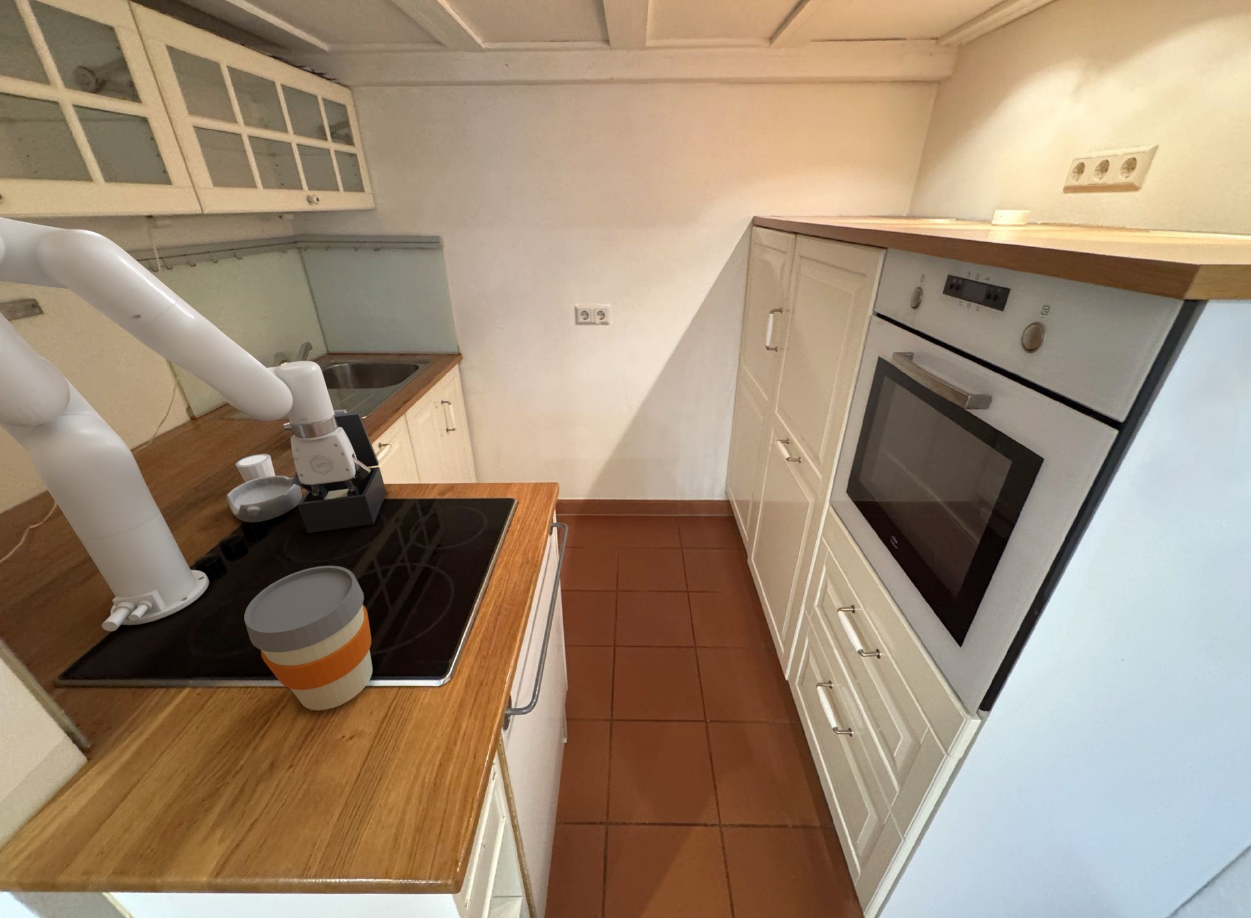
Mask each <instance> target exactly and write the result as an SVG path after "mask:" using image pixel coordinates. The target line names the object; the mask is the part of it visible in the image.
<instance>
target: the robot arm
mask: <svg viewBox="0 0 1251 918" xmlns="http://www.w3.org/2000/svg"><path fill="white" fill-rule="evenodd" d="M0 281H1V282H6V283H7V282H8V283H13V284H14V283H15V284H22V285H30V286H39V287H47V288H54V289H55V288H57V289H63V290H64V289H65V290H69V291H71V292H72V293H74V294H75V295H76V296H77V297H79V298H80V299H81V300H83V301H85V302H86V303H87V304H89V305H90V306H91V307H93V308H94V309H95V310H96V311H98V312H99V313H101V314H102V315H104V316H105V317H106V318H107V319H109V320H110V321H112V322H113V323H114V324H116V325H117V326H118V327H120V328H122V329H123V330H124V331H125V332H127V333H128V334H130V335H131V336H132V337H133V338H135V339H136V340H138V341H139V343H142V344H143V345H144V346H145V347H147V348H148V349H150V350H151V351H153V352H154V353H156V354H158V355H159V356H160V357H162V358H163V359H165V360H166V361H168V362H171V363H173V364H174V365H176V366H178V367H179V368H181V369H183V370H185V371H186V372H188V373H190V374H192V375H193V376H195V378H198V379H199V380H201V381H202V382H204V383H205V384H206V385H207V386H209V387H211V388H212V389H213V390H215V391H216V392H218V393H219V394H220V395H222V397H223V399H224V400H225V401H226V402H227V403H228V404H229V405H230V406H231V407H233V408H234V409H236V410H238V411H240V412H242V413H243V414H245V415H247V416H249V417H250V418H252V419H255V420H257V421H261V422H275V421H277V420H281V419H282V418H284V417H285V416H287V417H288V420H289V421H288V422H287V423H283V429H284V431H290V432H292V436H291V437H290V446H291V454H292V459H293V463H294V468H295V473H294V474H293V477H292V478H293V479H292V480H291V482H292V483H293V484H295V485H298V486H300V487H303V488H304V489H303V490H306V491H307V490H308V491H310V492H312V495H314V496H316V498H317V500H324V499H325V497H326V496H327V494H328V492H327V490H326V489H325V488H323V484H324V483H332V482H340V481H344V483H345V484H346V486H347V487H348V492H347V495H348V496H356V495H359V491H358V488H357V486H358V485H359V484H360V482H361V481H362V480H363V479H364V478H365V477H366V476H367V475H369V473H370V471H371V470H370V469H369V468H370V467H366V466H365V465H364V464H362V463H361V462H360V461H358V460H357V458H356V455H355V453H354V450H353V447H352V445H351V443H350V441H349V439H348V437H347V435H346V433H345V432H344V430H343V428H342V427H338V423H337V420H336V417H335V414H334V407H333V404H332V401H331V397H330V394H329V391H328V387H327V385H326V380H325V377H324V374H323V370H322V368H321V366H320V364H318V363H317V362H315V361H312V360H297V361H291V362H287V363H283V364H281V365H278V366H272V367H271V366H270V367H267V366H265V365H264V364H263V363H261V362H260V361H259V360H258V359H257V358H255V357H254V356H253V355H252V354H251V353H249V352H248V351H246V350H245V348H243V347H241V346H240V345H239V344H238V343H236V341H234V340H232V339H231V338H230V337H229V336H228V335H226V334H225V333H224V332H222V330H221V329H219V328H218V327H217V326H216V325H215V324H213V323H212V322H211V321H210V320H209V319H207V318H206V317H205V316H203V315H202V314H201V313H200V312H199V311H197V310H196V309H195V308H194V307H193V306H191V305H190V304H189V303H187V301H185V300H184V299H183V298H182V297H180V296H179V294H177V293H175V292H174V291H173V290H172V289H171V288H170V287H168V286H167V284H165V283H164V282H162V281H161V280H160V279H159V278H158V277H156V276H155V274H153V273H152V272H151V271H150V270H148V269H147V268H146V267H145V266H143V265H142V263H140V262H139V261H137V259H135V258H134V257H133V256H132V255H130V254H129V253H128V252H127V251H126V250H124V249H123V248H122V247H121V246H119V244H116V243H115V242H114V241H113V240H111V239H109V238H108V237H106V236H104V235H103V234H100V233H97V232H95V231H91V230H87V229H79V228H62V227H54V226H48V225H42V224H37V223H32V222H27V221H22V220H20V221H19V220H16V219H11V218H6V217H1V216H0ZM0 427H1V428H2V429H3V430H4V431H5V432H6V433H7V434H9V435H10V437H12V439H14V440H15V441H16V442H17V443H18V444H19V445H20V446H22V448H24V450H25V451H26V452H27V453H28V454H29V456H30V459H31V462H32V464H33V467H34V470H35V471H36V473H37V476H38V477H39V479H40V481H41V483H42V484H43V486H44V487H45V489H46V490H47V491H48V492H49V494H50V496H51V497H52V499H53V500H54V502H55V503H56V505H57V506H58V508H59V509H60V510H61V512H62V514H63V516H64V517H65V518H66V520H67V522H68V523H69V525H70V527H71V528H72V531H74V533H75V534H76V536H77V537H78V539H79V540H80V542H81V544H82V545H83V547H84V549H85V551H86V552H87V553H88V555H89V556H90V558H91V559H92V562H93V563H94V564H95V566H96V568H97V569H98V571H99V573H100V574H101V576H102V577H103V579H104V580H105V582H106V584H107V585H108V587H109V589H110V591H111V592H112V594H113V595H114V598H113V599H112V600H111V602H112V603H113V605H112V606H111V609H110V615H109V616H108V617H107V618H106V619H105V620H104V621H103V622H102V624H101V627H102V629H103V630H104V631H105V632H115V631H117V630H118V629H119V628H120V626H121V625H122V626H137V625H143V624H147V623H150V622H151V623H152V622H155V621H158V620H161V619H163V618H166V617H168V616H171V615H173V614H175V613H177V612H179V611H181V610H183V609H185V608H186V607H188V606H189V605H191V604H192V603H194V602H195V601H197V600H198V599H199V598H200V597H201V596H202V595H203V594H204V593H205V592H206V590H207V589H208V587H209V584H210V580H209V578H208V576H207V574H206V573H205V572H203V571H201V570H196V569H191V568H190V566H189V564H188V562H187V560H186V558H185V556H184V554H183V552H182V551H181V548H180V547H179V545H178V543H177V541H176V539H175V537H174V536H173V533H172V532H171V529H170V527H169V526H168V524H167V522H166V520H165V518H164V516H163V514H162V512H161V510H160V509H159V507H158V505H157V503H156V500H155V499H154V497H153V495H152V493H151V491H150V489H149V487H148V485H147V484H146V481H145V479H144V477H143V474H142V472H141V469H140V467H139V465H138V463H137V460H136V459H135V457H134V455H133V453H132V451H131V449H130V448H129V446H128V445H127V443H126V442H125V441H124V440H123V438H122V437H121V436H120V435H119V434H118V433H117V432H116V431H115V429H113V428H112V427H111V425H110V424H108V422H106V420H105V419H104V418H103V417H102V416H101V415H100V413H98V412H97V411H96V409H94V407H92V405H91V404H90V403H89V402H88V400H86V398H84V397H83V395H82V394H81V393H80V392H79V390H77V389H76V387H75V386H74V385H73V384H72V383H71V382H70V380H68V378H66V376H65V375H64V374H63V373H62V372H61V370H59V368H58V367H57V366H56V365H55V364H54V363H53V362H51V361H50V360H48V359H47V358H46V357H44V356H42V355H40V354H39V353H38V352H37V351H36V350H35V349H34V348H33V347H32V346H31V345H30V344H29V343H28V342H27V341H26V340H25V338H24V337H23V336H22V335H21V334H20V333H19V332H18V331H17V330H16V328H15V327H14V326H13V325H12V324H11V322H10V321H9V319H7V318H6V316H5V315H3V313H2V312H1V311H0ZM356 470H358V471H359V472H360V473H359V474H358V475H357V476H356V478H355V473H356Z"/></svg>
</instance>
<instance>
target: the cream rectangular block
mask: <svg viewBox="0 0 1251 918" xmlns="http://www.w3.org/2000/svg"><path fill="white" fill-rule="evenodd" d="M347 492H348V489H344V490H336V491H329V492H328V494H327V496H326V497H325V499H332V498H340V497H348V495H347ZM325 499H324V500H325Z"/></svg>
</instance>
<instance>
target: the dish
mask: <svg viewBox="0 0 1251 918" xmlns="http://www.w3.org/2000/svg"><path fill="white" fill-rule="evenodd" d="M292 479H293V477H288V476H286V475H275V476H269V477H262V478H257V479H253V480H250V481H248V482H244V483H241V484H239V485H238V486H236V487H234V488H233V489H231V490H230V491H229V492H228V493H227V495H226V501H227V504H228V506H229V509H230V511H231V513H232V514H233V515H234V517H236V518H237V519H238V520H240V521H242V522H245V523H260V522H265V521H269V520H272V519H276V518H278V517H280V516H282V515H285V514H287V513H289V512H290V511H292V510H293V509H295V508H296V507H298V506H297V504H298V503H299V501H300V500H301V499H302V497H303V493H302V490H305V489H304V488H303V487H300V486H298V485H295V484H293V483H292V482H291V480H292Z"/></svg>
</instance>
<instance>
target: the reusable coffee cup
mask: <svg viewBox="0 0 1251 918" xmlns="http://www.w3.org/2000/svg"><path fill="white" fill-rule="evenodd" d="M364 600H365V596H364V592H363V589H362V588H361V586H360V584H359V582H358V580H357V578H356V576H355V573H353V572H352V571H351V570H350V569H348V568H346V567H343V566H339V565H319V566H315V567H314V566H313V567H310V568H309V567H308V568H305V569H302V570H299V571H297V572H293V573H291V574H289V575H286V576H284V577H281V578H280V579H278V580H276V581H274V582H273V583H271V584H269V585H268V586H267V587H265V588H264V589H262V590H261V591H260V592H259V593H258V594H257V595H255V597H253V599H252V600H251V601H250V602H249V604H248V606H247V607H246V609H245V612H244V615H243V616H244V618H243V619H244V623H245V627H246V630H247V633H248V637H249V640H250V642H251V644H252V646H253V647H255V648H257V650H260V655H261V656H260V657H261V658H262V660H263V662H264V663H265V665H266V666H267V667H268V668H269V670H270V671H271V672H272V674H274V676H275V678H276V679H277V680H278V681H279V682H280V684H281V685H282V686H284V687H285V688H288V689H290V690H291V691H292V693H293V695H294V696H295V697H296V699H298V701H299V702H300V703H301V705H302V706H303V707H305V708H306V709H308V710H310V711H326V710H331V709H334V708H336V707H339V706H342V705H343V704H346V703H347V702H349V701H350V700H352V699H354V698H355V697H356V696H357V695H359V694H360V693H361V692H362V691H363V690H364V689H365V688H366V686H367V685H368V683H369V682H370V680H371V678H372V675H373V663H372V657H371V650H370V649H371V645H372V635H371V627H370V621H369V615H368V610H367V608H366V606H365V605H364Z"/></svg>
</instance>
